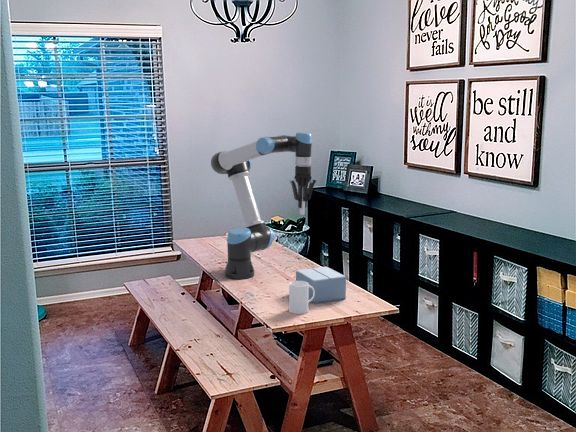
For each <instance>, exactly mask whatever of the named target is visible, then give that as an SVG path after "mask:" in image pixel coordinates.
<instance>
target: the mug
mask: <svg viewBox="0 0 576 432" xmlns="http://www.w3.org/2000/svg"><path fill="white" fill-rule="evenodd" d="M288 285H289V287H288V289H289V292H288V293H289V295H288V299H289V300H288V312H289V313H290V314H294V315H304V314H307V313H309V311H310V308H309V303H311V301H312V300H313V298H314V295H315V291H314V288H313V287H312V286H311V285H309V284H308V282H305V281H296V280H293V281H290V282H289V284H288ZM309 287H310V288H312V289H313V297H312V298H311V299H310V300H308V290H309Z"/></svg>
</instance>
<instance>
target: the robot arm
mask: <svg viewBox="0 0 576 432" xmlns="http://www.w3.org/2000/svg"><path fill="white" fill-rule="evenodd" d="M312 144H313V139H312V133H310V132H296V134H295V136H294V135H285V134H284V135H282V134H281V135H278V136H263V137H260V138H258V139H257V140H256V141H253V142H250V143H247V144H244V145H242V146H239V147H236V148H234V149H233V148H232V149H230V150H222V151H219V152H216V153H214V154H213V156H211V160H210V165H211V168H212V170H213V171H214V172H215V173H216V174H219V175H227V178H228V180H230V181H232V184H233V187H234V191H235V194H236V198H237V201H238V203H239V208H240V211H241V213H242V218H243V220H244V227H240V228H233V229H231V230H230V231H228V232H227V239H226V242H227V262H226V265H225V268H224V277H225V278H227V279H232V280H243V279H244V280H246V279H250V278H253V277H255V269H254V266H253V262H252V257H251V256H252V253H255V252H260V251H264V250H266V249H269V248H270V247H271V246H272V245H273V242H274V237H275V236H274V232H273V231H274V230H273V229H271V228H270V226H268V225H267V224H266V221H264V220H262V219H261V214H260V211H259V208H258V204H257V201H256V198H255V195H254V192H253V188H252V185H251V182H250V178H249V175H250V173H251V171H250V170H251V168H252V160H254V159H257V158H260V157H263V156H267V155H270V154H274V153H275V154H276V153H285V152H289V153H295V154H294V155H295V160H294V161H295V167H294V168H295V169H294V173H295V175H294V178H293V179H291V180H289V183H290V185H291V188H292V192H293V198H294V200H295V201H297V203H298V205H297V206H298V209H299V215H301V216H305V214H306V208H307V207H308V201H310V200H311V198H312V195H313V190H314V185H315V184H316V182H317V181H316V179H314V178H312V166H311V165H312Z"/></svg>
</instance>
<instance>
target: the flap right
mask: <svg viewBox="0 0 576 432" xmlns="http://www.w3.org/2000/svg"><path fill="white" fill-rule="evenodd" d="M311 269H313V270H315V271H316V272H318V273H320V274H322V275H324V276H326V277H327V278H329V279H338V278H345V277H346V276H345V275H344V274H342V273H340V272H338V271H336V270H334V269H333V268H330V267H328V266H319V267H312V268H311Z"/></svg>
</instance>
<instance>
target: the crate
mask: <svg viewBox="0 0 576 432" xmlns="http://www.w3.org/2000/svg"><path fill="white" fill-rule="evenodd" d="M295 281H305V282H308V284H309V285H311V286H312V287H313V288H314V291H315V295H314V298H313V300H312V301H311V302H310V303H311V304H313V305H315V304H316V305H317V304H323V303H329V302H336V301H343V300H346V295H347V294H346V293H347V291H346V290H347V277H346V276H345V278H338V279H329V280H324V281H316V282H314V281H312V280H310V279H309V278H307V277H305V276H304V275H302V274H300V273H298V272H297V270H296V271H295ZM312 297H313V289H312V288H310V287H309V290H308V300H310V299H311V298H312Z"/></svg>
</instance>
